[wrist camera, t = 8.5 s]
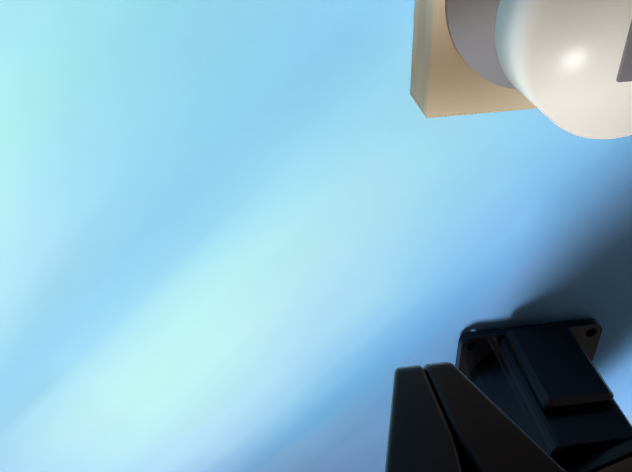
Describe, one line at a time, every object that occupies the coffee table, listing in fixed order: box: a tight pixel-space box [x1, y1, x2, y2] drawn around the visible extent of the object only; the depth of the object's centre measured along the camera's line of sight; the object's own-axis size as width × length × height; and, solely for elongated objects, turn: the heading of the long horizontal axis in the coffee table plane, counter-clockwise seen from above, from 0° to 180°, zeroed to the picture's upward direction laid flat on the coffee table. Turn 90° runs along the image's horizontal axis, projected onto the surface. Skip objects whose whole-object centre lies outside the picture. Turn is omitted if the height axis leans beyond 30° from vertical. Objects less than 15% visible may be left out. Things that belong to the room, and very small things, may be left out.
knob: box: [495, 0, 632, 139], centre depth 14 cm, size 5×5×4 cm
